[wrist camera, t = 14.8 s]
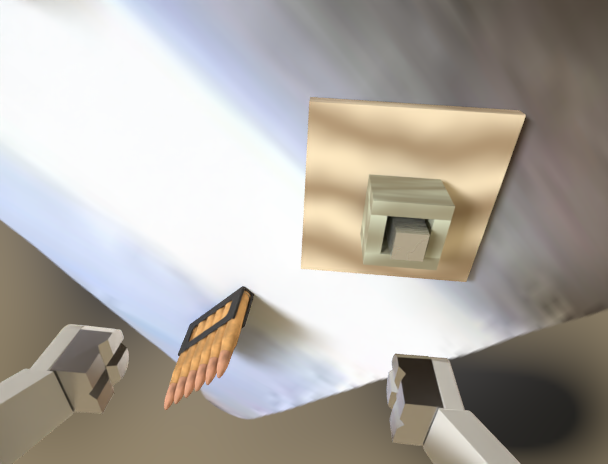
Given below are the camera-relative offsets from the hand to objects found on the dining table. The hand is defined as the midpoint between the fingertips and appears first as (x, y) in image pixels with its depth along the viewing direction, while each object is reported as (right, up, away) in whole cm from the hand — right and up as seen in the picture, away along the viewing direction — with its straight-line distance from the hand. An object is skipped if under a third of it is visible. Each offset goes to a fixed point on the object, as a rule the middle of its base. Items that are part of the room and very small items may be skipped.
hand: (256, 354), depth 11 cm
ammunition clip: (-9, -6, +37) cm, 39 cm away
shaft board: (+11, +7, +27) cm, 30 cm away
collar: (+10, +6, +25) cm, 27 cm away
